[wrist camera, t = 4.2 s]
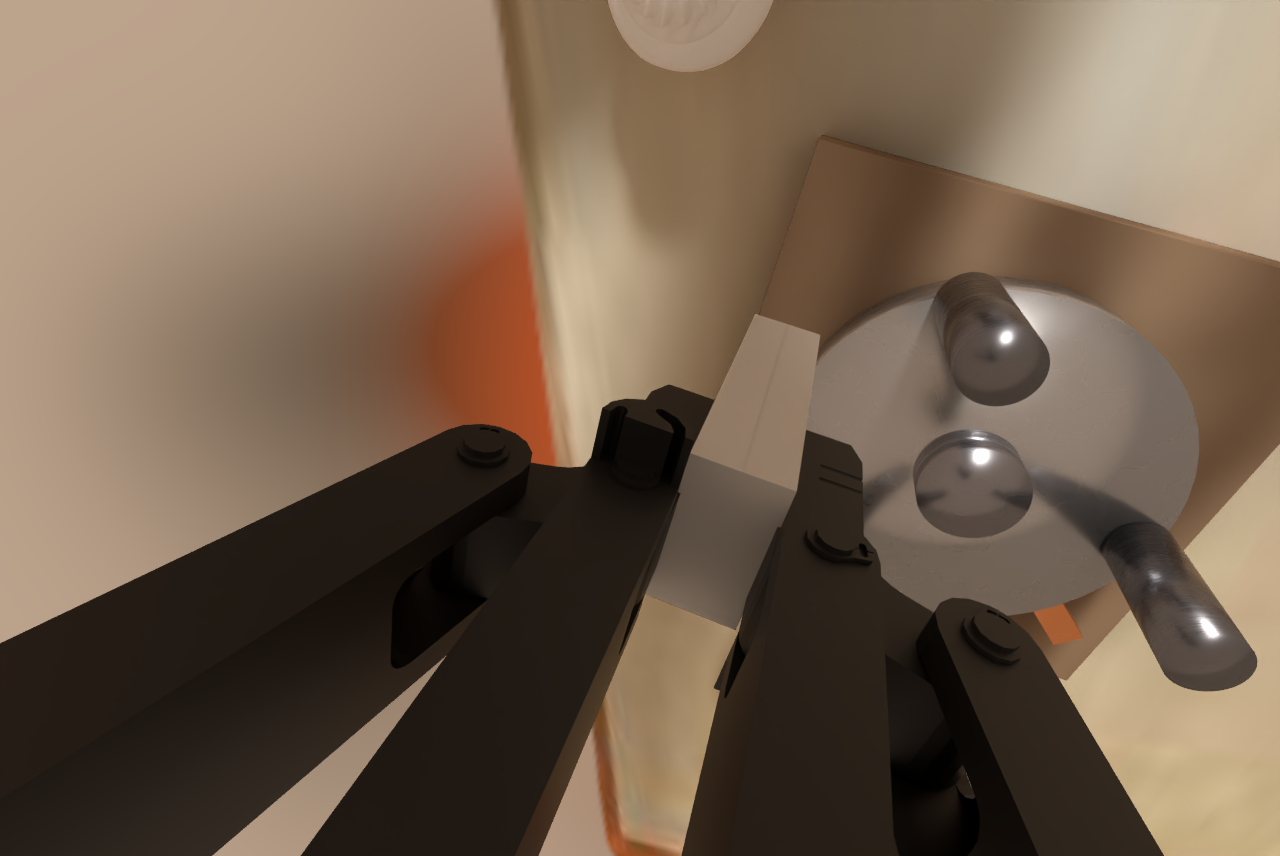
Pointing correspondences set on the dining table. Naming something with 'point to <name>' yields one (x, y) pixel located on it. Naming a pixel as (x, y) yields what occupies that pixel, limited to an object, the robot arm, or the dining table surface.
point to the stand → (1061, 255)
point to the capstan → (1026, 461)
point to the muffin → (688, 30)
